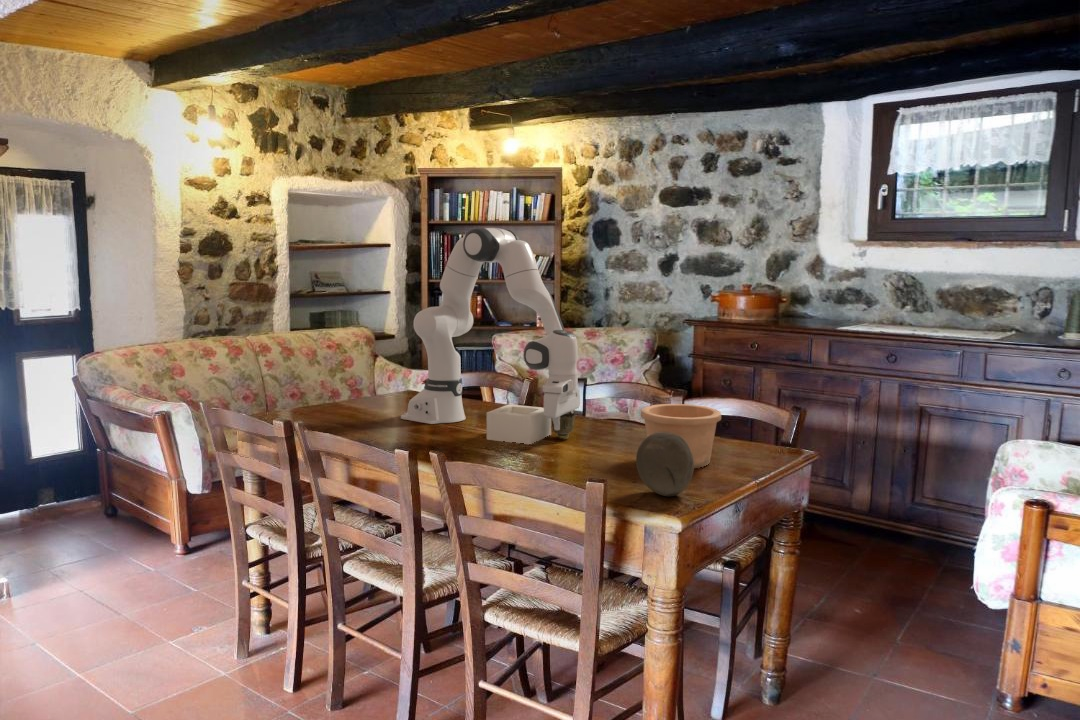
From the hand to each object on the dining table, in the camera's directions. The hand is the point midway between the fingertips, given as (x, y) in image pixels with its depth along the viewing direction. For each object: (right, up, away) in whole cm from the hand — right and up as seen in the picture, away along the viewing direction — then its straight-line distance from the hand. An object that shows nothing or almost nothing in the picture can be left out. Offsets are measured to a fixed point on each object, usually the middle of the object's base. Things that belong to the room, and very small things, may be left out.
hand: (562, 427), depth 255 cm
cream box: (-13, -3, +2) cm, 14 cm away
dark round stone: (+23, -12, -57) cm, 62 cm away
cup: (0, -4, 0) cm, 4 cm away
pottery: (+32, -8, -26) cm, 42 cm away
